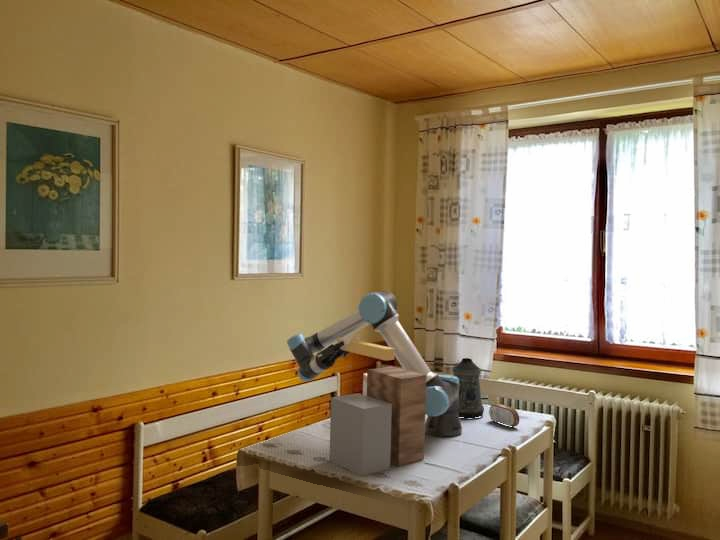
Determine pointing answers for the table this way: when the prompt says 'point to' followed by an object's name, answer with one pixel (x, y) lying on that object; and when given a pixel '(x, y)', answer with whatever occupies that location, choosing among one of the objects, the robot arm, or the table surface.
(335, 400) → the grey base
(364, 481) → the table surface
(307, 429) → the table surface
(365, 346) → the ochre bar
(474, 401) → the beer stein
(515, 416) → the tin
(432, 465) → the table surface
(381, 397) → the walnut pedestal
